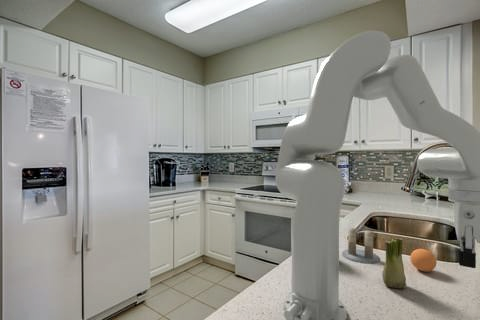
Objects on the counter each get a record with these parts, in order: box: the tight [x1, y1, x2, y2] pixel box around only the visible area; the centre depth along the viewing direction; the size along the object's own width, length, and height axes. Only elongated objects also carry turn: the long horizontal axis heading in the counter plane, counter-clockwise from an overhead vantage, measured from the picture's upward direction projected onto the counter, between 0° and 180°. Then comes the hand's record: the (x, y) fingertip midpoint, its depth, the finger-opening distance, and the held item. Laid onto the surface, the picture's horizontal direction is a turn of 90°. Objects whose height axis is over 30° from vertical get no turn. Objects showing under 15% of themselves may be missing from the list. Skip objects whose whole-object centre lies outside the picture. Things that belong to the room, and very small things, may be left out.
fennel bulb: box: [381, 237, 407, 290], centre depth 62 cm, size 6×5×12 cm
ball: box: [409, 248, 437, 272], centre depth 71 cm, size 6×6×6 cm
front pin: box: [364, 229, 374, 259], centre depth 79 cm, size 2×2×8 cm
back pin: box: [347, 227, 357, 255], centre depth 83 cm, size 2×2×8 cm
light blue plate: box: [341, 248, 381, 264], centre depth 81 cm, size 11×11×1 cm
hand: (467, 265), depth 65 cm, fingers closed
